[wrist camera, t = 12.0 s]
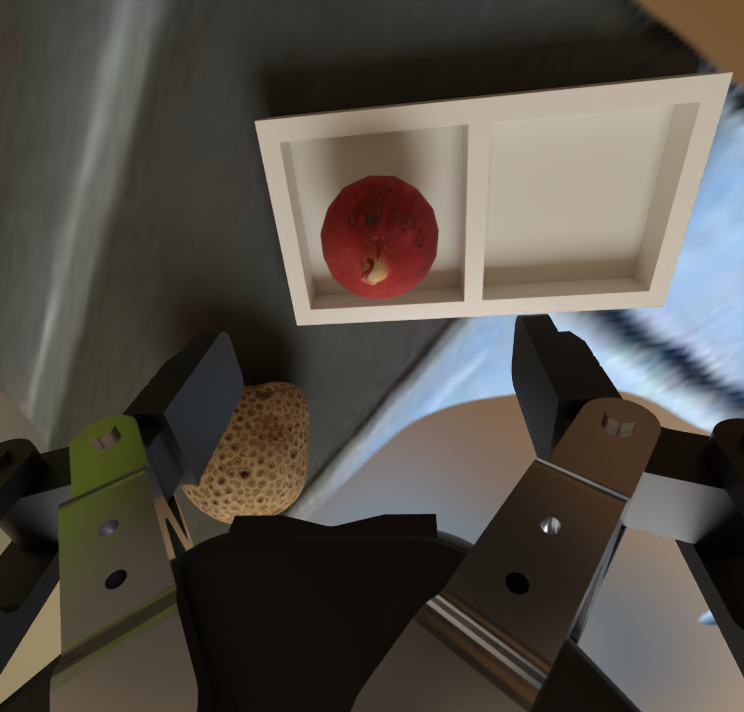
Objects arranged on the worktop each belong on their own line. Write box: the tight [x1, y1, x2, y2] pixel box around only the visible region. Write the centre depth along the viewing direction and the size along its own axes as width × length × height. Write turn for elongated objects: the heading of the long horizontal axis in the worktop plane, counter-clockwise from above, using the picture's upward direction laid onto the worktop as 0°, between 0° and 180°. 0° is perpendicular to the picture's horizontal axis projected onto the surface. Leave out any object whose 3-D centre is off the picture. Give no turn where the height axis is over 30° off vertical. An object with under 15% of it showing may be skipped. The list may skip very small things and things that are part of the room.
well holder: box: [255, 72, 733, 326], centre depth 23 cm, size 11×21×3 cm, turn 95°
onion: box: [320, 175, 439, 299], centre depth 21 cm, size 6×6×8 cm
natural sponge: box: [181, 381, 309, 524], centre depth 29 cm, size 9×9×10 cm
